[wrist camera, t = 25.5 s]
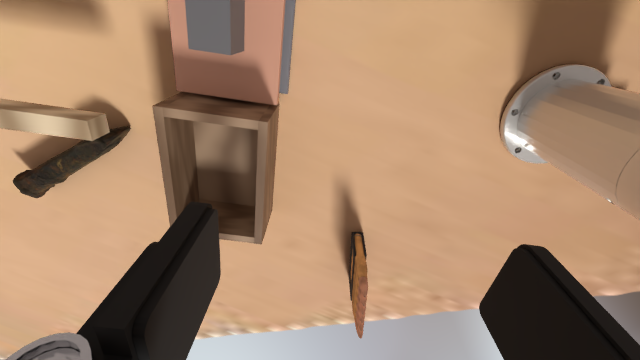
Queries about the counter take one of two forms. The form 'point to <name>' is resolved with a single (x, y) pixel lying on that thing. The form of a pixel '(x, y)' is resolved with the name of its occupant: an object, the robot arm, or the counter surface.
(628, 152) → the robot arm
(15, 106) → the rectangular bar
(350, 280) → the ammunition clip
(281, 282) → the counter surface
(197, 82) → the lid
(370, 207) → the counter surface
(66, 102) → the counter surface
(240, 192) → the toolbox
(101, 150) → the black rough elongated piece
